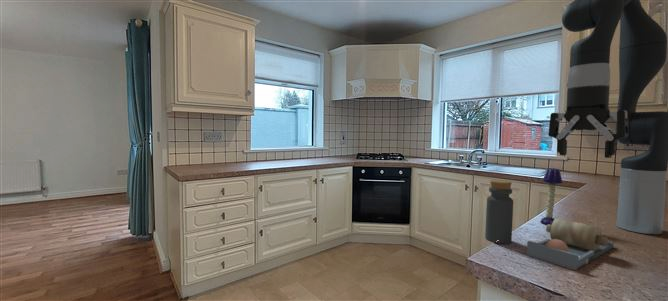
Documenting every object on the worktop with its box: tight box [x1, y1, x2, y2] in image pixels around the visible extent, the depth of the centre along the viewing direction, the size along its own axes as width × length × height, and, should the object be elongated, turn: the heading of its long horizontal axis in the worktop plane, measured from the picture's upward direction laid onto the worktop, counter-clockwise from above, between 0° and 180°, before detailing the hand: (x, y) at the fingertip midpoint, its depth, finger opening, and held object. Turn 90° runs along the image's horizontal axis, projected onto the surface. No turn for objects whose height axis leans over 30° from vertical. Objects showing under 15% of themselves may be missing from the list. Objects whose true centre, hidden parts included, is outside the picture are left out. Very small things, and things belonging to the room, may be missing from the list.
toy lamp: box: [540, 167, 563, 226], centre depth 91 cm, size 5×5×17 cm
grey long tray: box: [526, 238, 615, 271], centre depth 71 cm, size 23×9×3 cm, turn 124°
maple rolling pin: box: [545, 217, 609, 252], centre depth 71 cm, size 11×6×6 cm, turn 34°
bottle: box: [484, 179, 514, 245], centre depth 77 cm, size 6×6×15 cm
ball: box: [546, 239, 568, 252], centre depth 66 cm, size 4×4×4 cm
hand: (584, 156), depth 72 cm, fingers open, 8 cm apart
